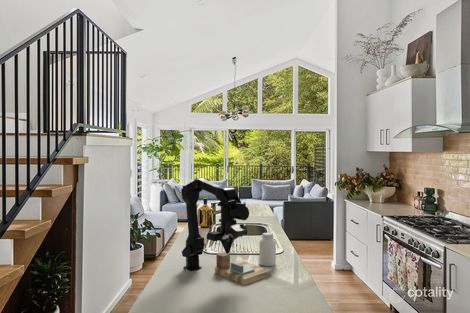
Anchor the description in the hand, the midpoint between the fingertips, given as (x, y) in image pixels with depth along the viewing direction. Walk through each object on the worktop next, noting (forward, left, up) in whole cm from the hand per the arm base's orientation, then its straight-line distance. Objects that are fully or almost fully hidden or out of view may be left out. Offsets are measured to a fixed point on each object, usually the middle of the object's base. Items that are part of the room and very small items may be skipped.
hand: (227, 253), depth 156 cm
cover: (0, +8, -9) cm, 13 cm away
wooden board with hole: (-2, +10, -12) cm, 16 cm away
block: (-10, +5, -10) cm, 15 cm away
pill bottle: (-4, +29, -12) cm, 32 cm away
